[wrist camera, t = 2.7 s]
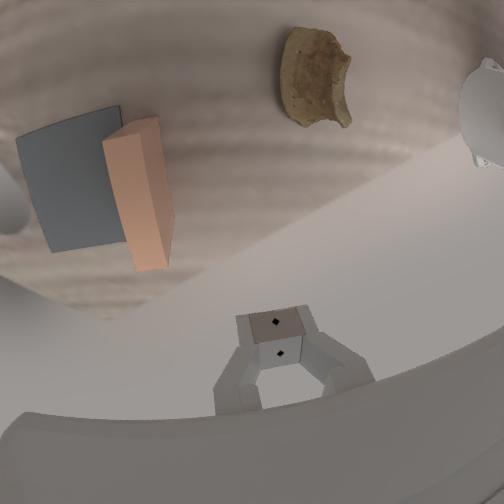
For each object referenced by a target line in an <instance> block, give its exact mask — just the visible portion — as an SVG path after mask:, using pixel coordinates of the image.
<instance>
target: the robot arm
mask: <svg viewBox="0 0 504 504" xmlns="http://www.w3.org/2000/svg"><path fill="white" fill-rule="evenodd" d="M458 117H459V125H460V129H461V133H462V136H463V139H464V140H465V143H466V144H467V146H468V147H469V149H470V150H471V152H472V157H473V161H474V164H475V166H477V167H480V168H483V167H486V166H490V165H496V166H497V167H499V168H501V169H503V170H504V69H503V68H502V67H501V66H500V65H498V64H497V63H496V62H495V61H494V60H493V59H491V58H488V57H485V58H484V59H483V61H482V62H481V64H480V67H479V68H477V69H476V70H474V71H473V72H472V73H470V74H469V76H468V77H467V78H466V80H465V82H464V84H463V86H462V89H461V92H460V97H459V105H458ZM236 323H237V330H238V338H239V345H240V346H239V347H237V348H236V350H235V352H234V353H233V355H232V357H231V359H230V360H229V362H228V364H227V365H226V367H225V369H224V371H223V372H222V374H221V376H220V378H219V379H218V381H217V383H216V384H215V386H214V388H213V392H214V402H215V412H216V416H209V417H198V418H185V419H167V420H105V419H87V418H74V417H64V416H55V415H47V414H40V413H34V412H24V413H23V414H21V415H20V416H19V417H18V418H16V420H14V421H13V422H12V423H11V424H10V426H9V427H8V428H7V429H6V430H5V431H4V432H3V434H2V436H1V438H0V504H504V326H503V327H501V328H499V329H498V330H496V331H494V332H492V333H490V334H488V335H486V336H484V337H482V338H481V339H479V340H477V341H475V342H473V343H471V344H468V345H467V346H464V347H462V348H460V349H458V350H456V351H454V352H451V353H449V354H447V355H445V356H442V357H440V358H438V359H435V360H433V361H431V362H428V363H426V364H423V365H421V366H418V367H416V368H413V369H411V370H408V371H405V372H402V373H400V374H397V375H394V376H391V377H388V378H386V379H382V380H380V381H375V379H374V377H373V374H372V373H371V370H370V368H369V366H368V364H367V362H366V360H365V359H364V358H363V357H361V356H359V355H358V354H356V353H355V352H353V351H352V350H350V349H349V348H347V347H346V346H344V345H342V344H341V343H339V342H338V341H336V340H335V339H333V338H332V337H330V336H328V335H327V334H325V333H324V332H319V330H318V328H317V325H316V323H315V321H314V318H313V316H312V314H311V312H310V309H309V307H308V305H301V306H295V307H289V308H284V309H278V310H272V311H267V312H259V313H251V314H245V315H237V316H236ZM296 363H300V364H301V365H302V366H303V367H304V368H305V369H306V370H307V371H309V372H310V373H311V374H312V375H313V376H314V377H316V378H317V379H318V380H319V381H320V382H321V383H322V384H324V385H325V387H324V390H323V394H322V397H320V398H316V399H311V400H307V401H303V402H298V403H293V404H288V405H283V406H278V407H273V408H267V409H262V405H261V400H260V396H259V392H258V387H257V386H256V385H255V383H256V380H257V378H258V376H259V373H260V370H263V369H268V368H273V367H278V366H284V365H290V364H296Z"/></svg>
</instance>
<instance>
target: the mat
mask: <svg viewBox="0 0 504 504" xmlns="http://www.w3.org/2000/svg"><path fill="white" fill-rule="evenodd" d="M120 128H122V121H121V115H120V108H119V106H115V107H111V108H107V109H103V110H100V111H96V112H92V113H89V114H85V115H82V116H78V117H75V118H72V119H69V120H66V121H63V122H60V123H57V124H54V125H51V126H48V127H45V128H42V129H40V130H37V131H34V132H32V133H29V134H27V135H24V136H22V137H19V138H17V139H16V144H17V148H18V153H19V157H20V161H21V164H22V168H23V172H24V175H25V179H26V182H27V186H28V189H29V192H30V195H31V199H32V202H33V205H34V208H35V210H36V213H37V216H38V219H39V222H40V224H41V227H42V230H43V232H44V235H45V237H46V240H47V242H48V245H49V247H50V250H51V252H52V253H55V252H61V251H67V250H73V249H79V248H85V247H91V246H97V245H103V244H109V243H116V242H122V241H127V240H126V237H125V234H124V230H123V227H122V223H121V220H120V216H119V212H118V209H117V205H116V201H115V197H114V193H113V189H112V185H111V181H110V176H109V172H108V168H107V163H106V158H105V154H104V149H103V144H102V141H103V140H105V139H106V138H107V137H109V136H110V135H112V134H113V133H114V132H116V131H117V130H119V129H120Z"/></svg>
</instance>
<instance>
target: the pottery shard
mask: <svg viewBox="0 0 504 504" xmlns="http://www.w3.org/2000/svg"><path fill="white" fill-rule="evenodd" d="M350 61H351V57H350V56H348V55H346V54H344V52H343V51H342V50H341V46H340V44H339V43H338V41H337V39H336V38H335V36H334V35H333V34H332V33H330V32H329V31H323V30H317V29H307V28H300V27H295V28H294V29H293V31H292V32H291V34H290V35H289V37H288V39H287V41H286V44H285V48H284V51H283V56H282V61H281V68H280V91H281V98H282V101H283V104H284V108H285V110H286V113H287V114H288V116H289V117H290V118H291V119H293V120H294V121H295V122H296V123H297V124H299V125H301V126H302V127H308V126H309V125H311V124H313V123H314V122H318V121H319V120H325V119H329V120H334V121H337V122H339V123H340V125H341V126H342V128H347V127H348V126H349V125H350V124H351V122H352V118H351V116H350V114H349V111H348V108H347V105H346V102H345V96H344V82H345V77H346V72H347V69H348V66H349V64H350Z"/></svg>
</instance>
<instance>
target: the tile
mask: <svg viewBox="0 0 504 504" xmlns="http://www.w3.org/2000/svg"><path fill="white" fill-rule="evenodd" d="M102 144H103V149H104V154H105V158H106V163H107V168H108V172H109V176H110V181H111V185H112V189H113V193H114V197H115V201H116V205H117V209H118V212H119V216H120V220H121V223H122V227H123V230H124V234H125V237H126V240H127V244H128V247H129V250H130V253H131V256H132V260H133V263H134V266H135V269H136V272H142V271H150V270H158V269H165V268H168V265H169V257H170V249H171V241H172V234H173V226H174V219H175V216H174V211H173V205H172V200H171V195H170V189H169V183H168V177H167V171H166V165H165V159H164V153H163V146H162V139H161V132H160V125H159V118H158V116H155V117H150V118H145V119H140V120H135V121H131V122H129V123H128V124H126V125H125V126H123V127H122V128H120V129H119V130H117V131H116V132H114V133H113V134H112V135H110V136H109V137H107V138H106V139H105V140H103V141H102Z"/></svg>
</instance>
